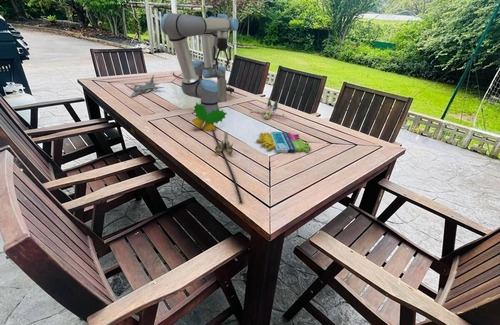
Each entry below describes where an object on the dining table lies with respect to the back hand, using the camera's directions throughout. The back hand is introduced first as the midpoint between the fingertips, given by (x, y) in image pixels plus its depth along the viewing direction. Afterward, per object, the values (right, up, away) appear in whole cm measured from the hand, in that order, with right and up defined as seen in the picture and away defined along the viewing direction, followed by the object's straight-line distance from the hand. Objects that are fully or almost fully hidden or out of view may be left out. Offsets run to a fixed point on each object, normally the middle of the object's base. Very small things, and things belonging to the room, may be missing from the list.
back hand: (223, 92), depth 219 cm
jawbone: (+9, -53, -81) cm, 97 cm away
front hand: (0, +15, -12) cm, 19 cm away
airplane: (-69, +3, +10) cm, 70 cm away
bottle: (-1, -7, 0) cm, 7 cm away
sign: (+41, -48, -67) cm, 92 cm away
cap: (0, +12, -10) cm, 15 cm away
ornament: (-3, -38, -55) cm, 66 cm away
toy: (+37, -22, -22) cm, 48 cm away
